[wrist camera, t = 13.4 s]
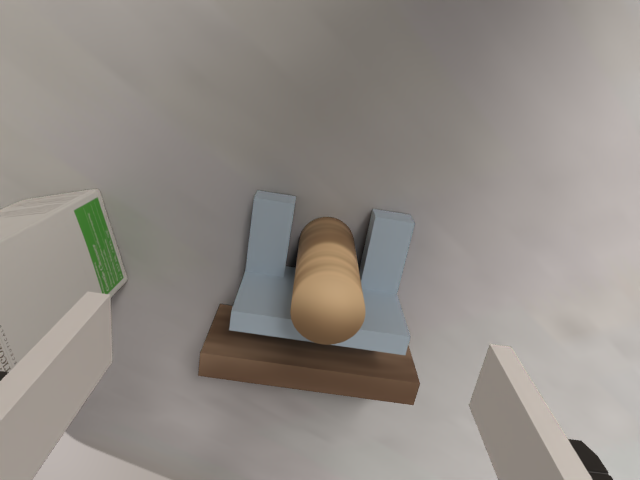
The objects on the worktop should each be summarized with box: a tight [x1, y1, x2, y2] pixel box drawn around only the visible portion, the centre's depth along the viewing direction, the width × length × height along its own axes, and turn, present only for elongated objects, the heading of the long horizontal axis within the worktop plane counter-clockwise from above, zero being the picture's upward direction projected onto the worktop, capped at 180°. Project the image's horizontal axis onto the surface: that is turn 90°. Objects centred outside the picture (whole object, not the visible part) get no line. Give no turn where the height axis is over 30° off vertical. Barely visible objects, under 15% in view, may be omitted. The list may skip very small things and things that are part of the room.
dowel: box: [290, 217, 365, 345], centre depth 32 cm, size 4×4×11 cm
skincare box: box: [0, 189, 127, 372], centre depth 30 cm, size 8×7×16 cm
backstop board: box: [198, 304, 420, 405], centre depth 37 cm, size 2×16×7 cm, turn 81°
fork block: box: [229, 190, 415, 355], centre depth 34 cm, size 10×12×8 cm
